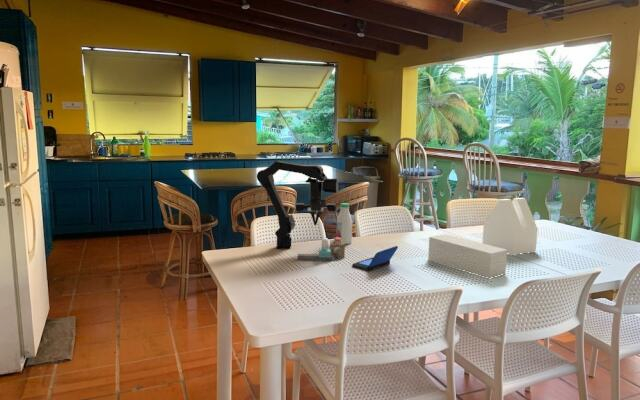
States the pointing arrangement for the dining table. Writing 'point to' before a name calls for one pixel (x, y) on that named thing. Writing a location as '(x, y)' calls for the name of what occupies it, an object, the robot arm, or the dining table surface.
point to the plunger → (337, 240)
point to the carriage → (324, 249)
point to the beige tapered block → (511, 227)
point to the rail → (314, 257)
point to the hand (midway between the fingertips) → (315, 225)
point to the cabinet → (337, 249)
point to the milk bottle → (344, 224)
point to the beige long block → (467, 255)
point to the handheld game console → (376, 260)
